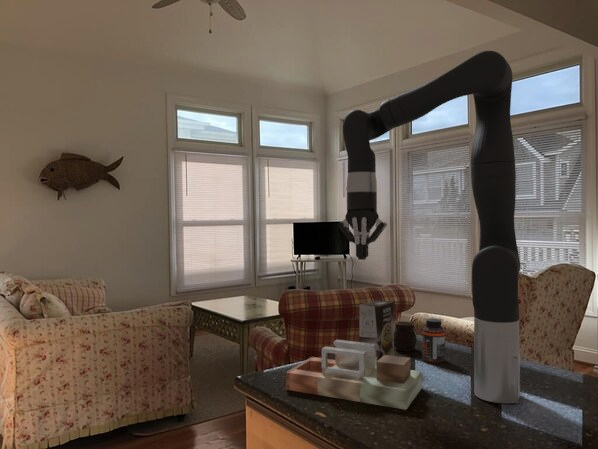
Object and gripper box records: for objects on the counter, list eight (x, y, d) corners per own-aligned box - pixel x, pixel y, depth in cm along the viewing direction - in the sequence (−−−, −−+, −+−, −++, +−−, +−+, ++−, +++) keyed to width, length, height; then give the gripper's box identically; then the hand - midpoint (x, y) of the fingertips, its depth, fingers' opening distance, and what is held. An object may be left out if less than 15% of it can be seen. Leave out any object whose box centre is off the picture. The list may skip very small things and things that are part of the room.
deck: (421, 388, 115) (421, 371, 115) (406, 409, 102) (406, 390, 102) (311, 372, 127) (311, 356, 127) (285, 389, 115) (285, 372, 115)
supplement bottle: (418, 358, 139) (418, 318, 139) (436, 356, 141) (436, 316, 141) (430, 364, 133) (430, 322, 133) (449, 362, 135) (449, 321, 135)
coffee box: (379, 367, 131) (379, 306, 131) (358, 362, 135) (358, 303, 135) (395, 359, 139) (394, 301, 138) (374, 355, 143) (374, 299, 142)
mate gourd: (395, 345, 154) (396, 313, 153) (420, 348, 150) (420, 315, 150) (388, 350, 147) (389, 317, 147) (414, 354, 144) (414, 319, 144)
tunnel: (376, 368, 117) (376, 343, 117) (363, 380, 109) (363, 353, 109) (336, 363, 121) (336, 339, 121) (321, 373, 113) (321, 348, 113)
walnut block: (410, 375, 111) (410, 357, 111) (403, 383, 106) (403, 365, 106) (384, 372, 114) (384, 354, 114) (376, 379, 109) (376, 361, 109)
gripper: (391, 190, 126) (391, 259, 126) (342, 192, 132) (343, 257, 132) (382, 189, 119) (383, 261, 120) (331, 191, 125) (332, 259, 125)
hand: (362, 259), depth 126 cm, fingers closed
